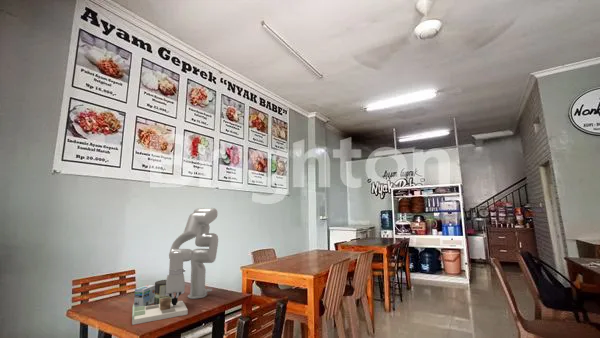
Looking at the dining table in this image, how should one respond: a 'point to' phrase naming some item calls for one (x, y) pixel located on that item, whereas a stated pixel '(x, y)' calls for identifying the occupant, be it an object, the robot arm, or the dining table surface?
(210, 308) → the dining table surface
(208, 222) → the robot arm
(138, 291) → the light bulb box
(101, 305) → the dining table surface
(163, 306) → the walnut block
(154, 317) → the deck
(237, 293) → the dining table surface
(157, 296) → the coffee can
